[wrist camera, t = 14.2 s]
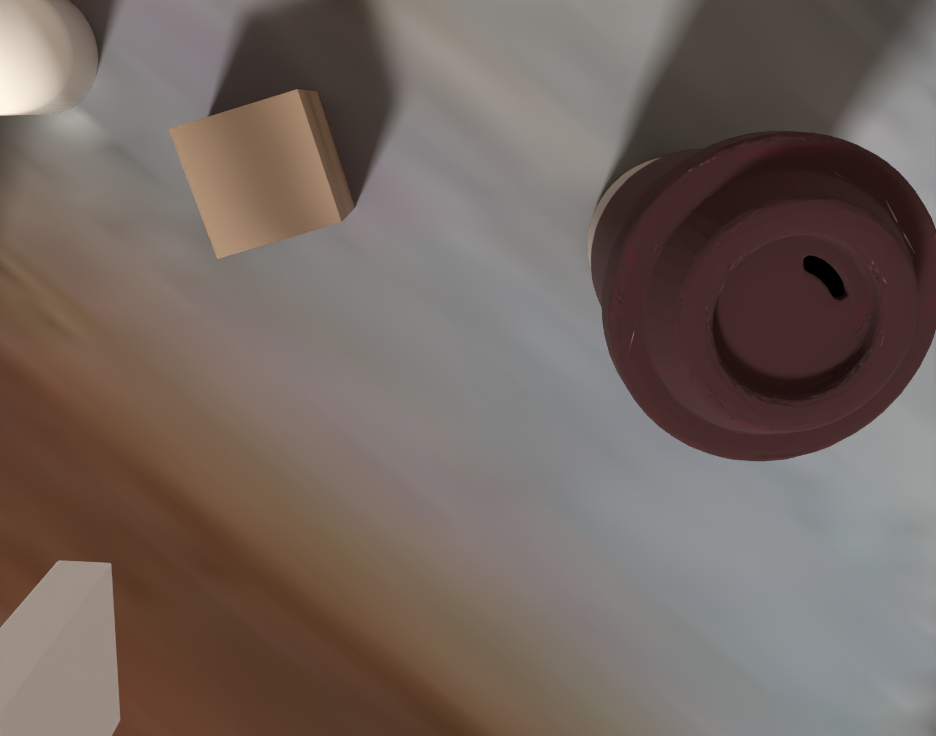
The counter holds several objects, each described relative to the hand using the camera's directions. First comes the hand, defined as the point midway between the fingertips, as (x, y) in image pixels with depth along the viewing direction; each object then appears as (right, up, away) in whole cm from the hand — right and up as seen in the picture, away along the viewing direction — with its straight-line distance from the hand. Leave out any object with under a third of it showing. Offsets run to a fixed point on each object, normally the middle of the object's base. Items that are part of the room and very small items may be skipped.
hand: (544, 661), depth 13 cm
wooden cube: (-9, +13, +24) cm, 29 cm away
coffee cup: (+8, +10, +25) cm, 28 cm away
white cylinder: (-19, +17, +22) cm, 34 cm away
